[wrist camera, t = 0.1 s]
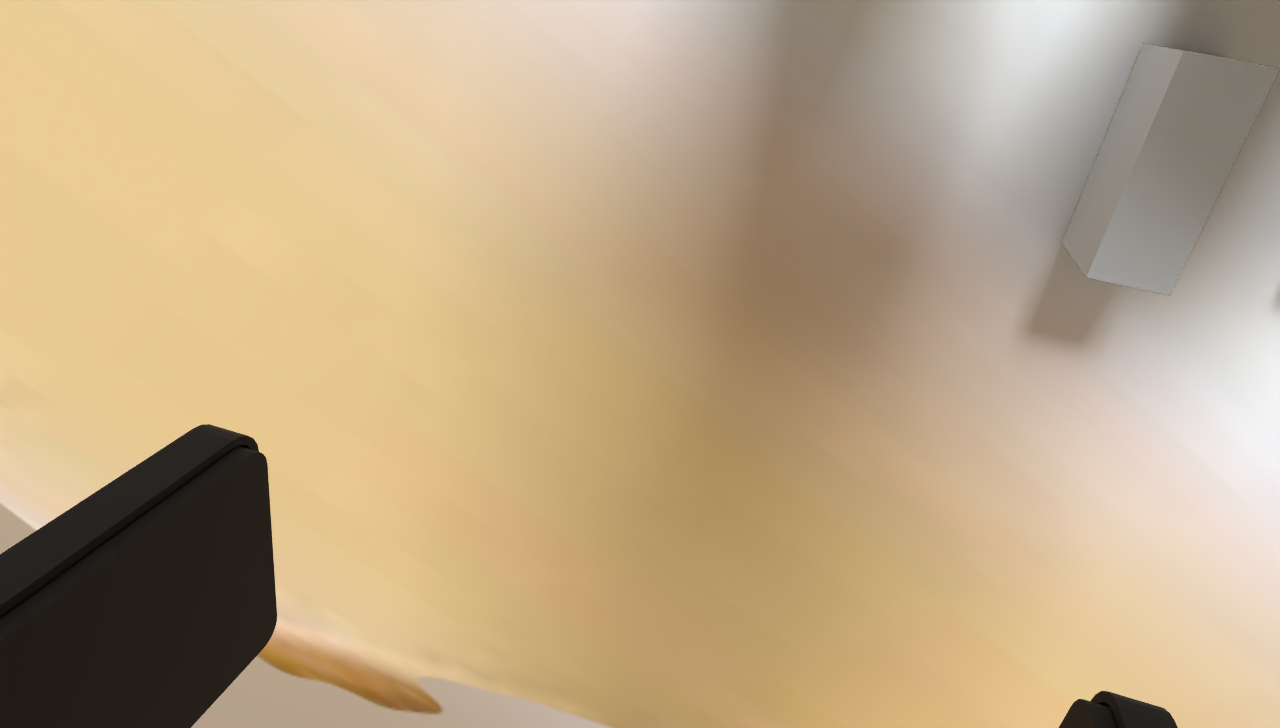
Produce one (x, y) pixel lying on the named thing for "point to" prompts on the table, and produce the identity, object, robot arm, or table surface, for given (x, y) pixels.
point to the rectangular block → (1163, 165)
